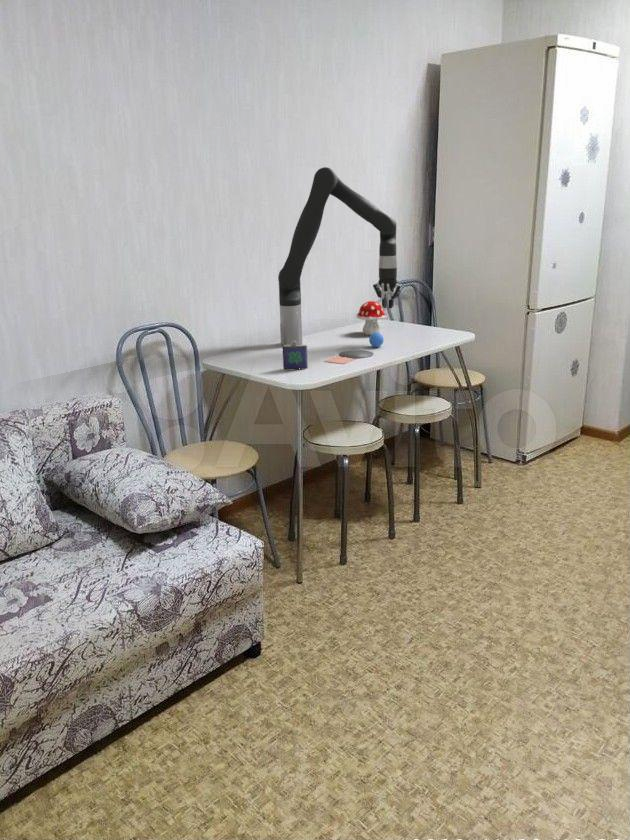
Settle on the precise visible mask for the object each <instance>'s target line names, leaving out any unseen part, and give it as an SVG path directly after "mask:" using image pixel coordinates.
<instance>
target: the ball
mask: <svg viewBox="0 0 630 840" xmlns="http://www.w3.org/2000/svg"><path fill="white" fill-rule="evenodd" d="M368 341H369V344H370V345H371V346H372V347H373V348H379V347H381V346H382V345H383V344H384V341H385V340H384V336H383V335H382V333H380V332H379V333H373V334H372V335H369V339H368Z"/></svg>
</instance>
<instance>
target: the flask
mask: <svg viewBox="0 0 630 840" xmlns="http://www.w3.org/2000/svg"><path fill="white" fill-rule="evenodd" d="M296 342H297V341H293V344H289V345H288V344H287V345H284V346H282V364H283V365H282V368H283V370H284V369H295V370H303V369H302V368H307V369H308V368H309V367H308V366H309V364H308V361H309V360H308V345H307V344H301V345H297V344H296ZM299 368H300V369H299Z"/></svg>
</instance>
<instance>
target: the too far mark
mask: <svg viewBox="0 0 630 840" xmlns="http://www.w3.org/2000/svg"><path fill="white" fill-rule="evenodd" d="M355 359H356V358H345V357H341V356H334V357H331V358H329V359H326V360H324V361H325V363H331V362H332V363H331V364H340V365H345V364H347V362H348V363H350V362H353V361H355ZM352 360H353V361H352ZM349 361H350V362H349Z"/></svg>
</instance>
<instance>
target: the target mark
mask: <svg viewBox="0 0 630 840" xmlns="http://www.w3.org/2000/svg"><path fill="white" fill-rule="evenodd" d="M373 354H374V352H373V351H369V350H365V349H363V350H362V349H352V350H351V349H350V350H345V351H342V352H340V353H338V357H346V358H353V359H365V357H366V358H370V357H372V355H373ZM373 356H374V355H373Z"/></svg>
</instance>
